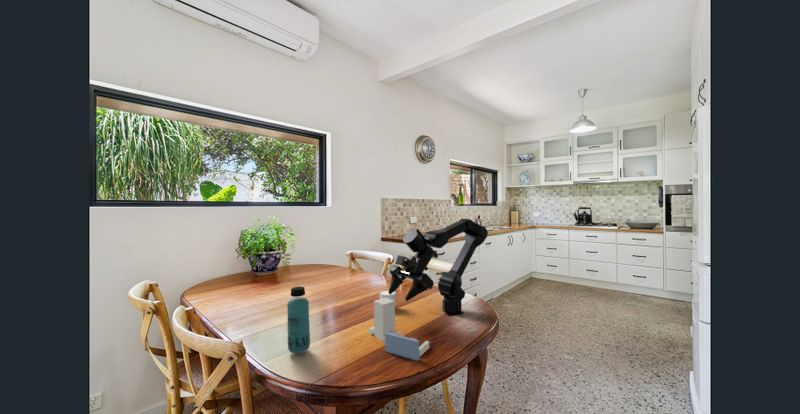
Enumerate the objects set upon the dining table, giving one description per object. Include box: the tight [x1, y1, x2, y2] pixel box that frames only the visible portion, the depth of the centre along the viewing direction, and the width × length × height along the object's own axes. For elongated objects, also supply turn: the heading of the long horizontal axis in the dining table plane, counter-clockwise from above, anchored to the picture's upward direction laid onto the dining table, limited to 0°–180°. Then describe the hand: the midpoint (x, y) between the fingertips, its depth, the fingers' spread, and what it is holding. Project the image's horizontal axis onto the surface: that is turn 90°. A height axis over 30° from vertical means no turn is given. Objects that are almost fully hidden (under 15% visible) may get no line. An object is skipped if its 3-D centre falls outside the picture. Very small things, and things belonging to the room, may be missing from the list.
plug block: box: [373, 298, 396, 342], centre depth 108 cm, size 5×5×12 cm
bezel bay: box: [384, 332, 430, 362], centre depth 98 cm, size 8×11×6 cm
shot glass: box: [379, 289, 397, 303], centre depth 132 cm, size 7×7×7 cm
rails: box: [368, 326, 402, 336], centre depth 108 cm, size 6×10×2 cm, turn 39°
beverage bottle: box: [286, 286, 311, 354], centre depth 97 cm, size 6×7×20 cm
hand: (397, 296), depth 111 cm, fingers open, 9 cm apart
